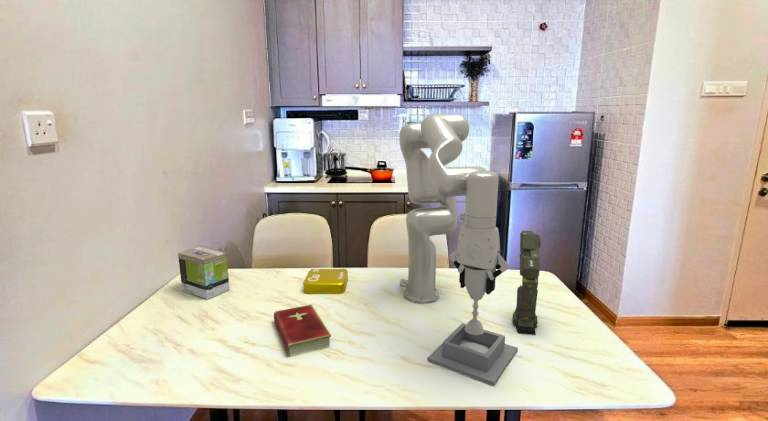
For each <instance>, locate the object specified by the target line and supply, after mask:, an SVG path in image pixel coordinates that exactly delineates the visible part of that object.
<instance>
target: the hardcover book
mask: <svg viewBox="0 0 768 421" xmlns="http://www.w3.org/2000/svg"><path fill="white" fill-rule="evenodd" d="M273 320H274V323H275V326H276V329H277V331H278V334H279V336H280V338H281V340H282V344H283V346H284V348H285V350H286V353H287V355H288V357H289V358H290V357H293V356H295V355H298V354H299V355H300V354H304V353H308V352H312V351H316V350H320V349H321V350H322V349H324V348H328V347H331V342H330V341H331V340H330V338H331V337H332V334H331V333H330V331H329V330H328V328H327V326H326V325H325V323H324V322H323V320H322V319H321V317H320V316H319V314H318V312H317V311H316V309H315V308H314V306H313V304H312V303H311V304H306V305H301V306H296V307H291V308H287V309H286V308H285V309H280V310H277V311H276V310H275V311H274V313H273Z"/></svg>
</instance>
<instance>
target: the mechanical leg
mask: <svg viewBox="0 0 768 421" xmlns="http://www.w3.org/2000/svg"><path fill="white" fill-rule="evenodd" d="M519 235H520V241H519V246H520V247H519V251H520V254H519V276H521V277H522V278H521V279H522V281H521V282H522V283H521V284H519V286H518V287H517V289H516V290H517V291H516V292H517V293H516V306H515V310H514V311H513V312H512V325H513V326H514V328H515V330H516V332H517V334H520V335H521V334H522V335H530V336H535V335H536V328H537V327H538V323H539V322H538V321H539V320H538V319H539V318H538V315H536V311H537V310H536V308H537V299H538V292H539V290H538V286H539V277H540V268H541V267H540V265H541V264H540V249H541V245H542V244H541V243H542V240H541V239H542V238H541V235H540V234H538V233H537V232H536V233H535V232H533V231H531V230H522V231H520V234H519Z"/></svg>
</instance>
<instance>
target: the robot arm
mask: <svg viewBox="0 0 768 421" xmlns="http://www.w3.org/2000/svg"><path fill="white" fill-rule="evenodd" d="M469 134H470V124H469V122H468V120H467V118H466V117H465V116H464V115H463V114H460V113H433V114H429V115H427V116H425V117H424V118H423V120H422V121H420V122H411V123H407V124H405V125H403V126H402V127H401V128H400V130H399V142H398V143H399V148H400V152H401V154H402V156H403V160H404V163H405V168H406V169H405V170H406V180H407V181H406V182H407V193H408V198H409V201H410V203H412V204H414V205H415V204H416V205H429V204H438V205H439V206H437V207H420V208H414V209H412V210H410V211H409V212H408V213H407V214H406V216H405V223H406V224H405V225H406V231H407V238H408V239H407V241H408V242H407V243H408V253H407V254H408V263H407V264H408V271H407V272H408V273H407V275H408V276H407V277H408V278H407V279H405V278H400V280H399V287H403V288H405V289H404V290H403V297H404V298H405V299H406V300H408V301H410V302H413V303H418V304H419V303H420V304H428V303H433V302H435V301H437V300H438V299H439V298H440V291H439V290H438V289H437V288H436V277H437V276H436V274H437V273H436V270H437V247H436V245H435V243H434V242H433V241H432V239H431V238H430V237H432V236H433V237H435V236H440V235H441V236H442V235H443V236H444V235H450V234H453V233H454V232H455V231H456V230H457V226H458V212H457V198H456V197H465V205H464V207H465V208H464V213H463V214H462V213H460V215H459V219H460V220H462V221H463V223H462V224H461V225H460V228H459V232H458V238H457V244H456V249H455V250H453V252H451V253H449V255H448V258H449V259H450V260H451V262H452V263H453V265H454V266H455V267H456V269H457V272H458V273H459V278H458V279H459V281H458V282H459V284H460V287H459V288H461V289H463V288H466V286H465V282H464V281H465V268H464V266H470V267H475V268H480V269H484V270H488V271H487V273H488V276H489V278H488V279H487V285H486V293H485V294H486V295H489V296H490V294H492V292H493V291H495V289H496V278H497V277H499V276H500V275H501V274H503V273H504V272H506V271H507V270H508V269H509V268H510V265H509V264H508V262H507V261H506V260H505V259H504V258H503V256H502V255H501V241H500V232H499V228H498V227H497V226H496V224H497V211H498V210H497V209H498V208H497V207H498V193H499V192H498V191H499V175H498V174H497V173H496V172H494V171H491V170H487V169H486V168H485V167H482V166H471V165H470V166H449V167H448V166H447V167H446V165H449V164H451V163H452V162H454V161H455V160H456V159H457V158H459V156H460V155H461V154H462V151H463V142H464V141H466V140H467V138H468V136H469ZM422 149H430V150H431V154H430V156H428V155H427V154H426V153H425V152H424V151H423V150H422ZM463 265H464V266H463ZM498 265H499V266H500V268H498V269H496V266H498Z"/></svg>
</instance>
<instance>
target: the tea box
mask: <svg viewBox="0 0 768 421" xmlns="http://www.w3.org/2000/svg"><path fill="white" fill-rule="evenodd" d="M177 256H178V257H177V258H178V263H179V264H178V265H179V272H180V282H181V289H182V291H184V292H186V293H189V294H191V295H195V296H197V297H200V298H203V299H206V300H210V299H213V298H214V297H216V296H219V295H222V294H223V293H226V292H229V291H230V282H229V281H230V279H229V267H228V256H227V252H225V251H221V250H216V249H213V248H210V247H206V246H199V247H195V248H192V249H188V250H184V251H182V252H178V253H177Z"/></svg>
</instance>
